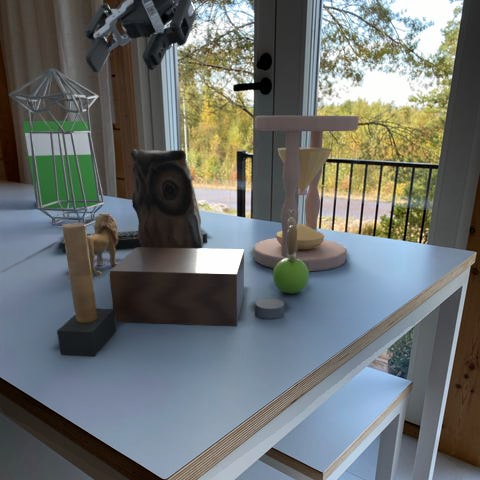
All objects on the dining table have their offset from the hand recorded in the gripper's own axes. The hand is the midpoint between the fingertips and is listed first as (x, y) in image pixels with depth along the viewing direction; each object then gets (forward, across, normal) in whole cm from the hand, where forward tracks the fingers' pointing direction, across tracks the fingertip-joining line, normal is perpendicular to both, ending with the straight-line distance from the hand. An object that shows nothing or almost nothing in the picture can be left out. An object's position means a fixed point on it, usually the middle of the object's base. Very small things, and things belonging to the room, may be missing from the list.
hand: (119, 65), depth 59 cm
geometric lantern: (-5, -46, +49) cm, 68 cm away
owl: (+9, -4, +35) cm, 36 cm away
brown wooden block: (+22, +8, +21) cm, 32 cm away
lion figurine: (+16, -15, +28) cm, 36 cm away
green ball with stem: (+14, +20, +30) cm, 38 cm away
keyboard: (+1, -21, +42) cm, 47 cm away
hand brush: (+33, +4, +11) cm, 35 cm away
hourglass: (+1, +16, +43) cm, 46 cm away
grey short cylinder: (+20, +20, +22) cm, 35 cm away
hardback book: (-20, -68, +64) cm, 95 cm away
